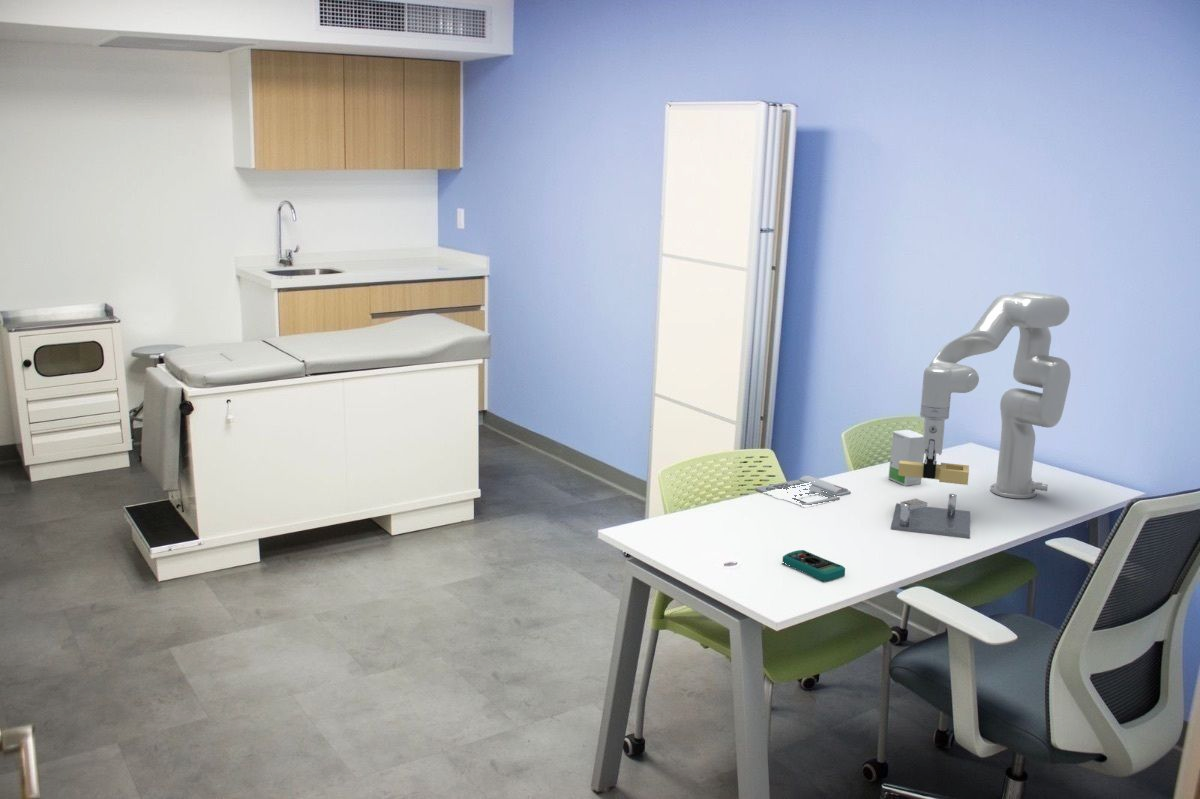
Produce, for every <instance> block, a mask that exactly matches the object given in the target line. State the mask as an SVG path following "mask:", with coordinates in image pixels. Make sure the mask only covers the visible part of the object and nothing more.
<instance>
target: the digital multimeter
mask: <svg viewBox="0 0 1200 799" xmlns="http://www.w3.org/2000/svg"><path fill="white" fill-rule="evenodd" d="M782 562H784V563H786V564H787V565H790V566H791V567H790V568H792V567H794V568H796V569H795V570H797V569H798V570H797V571H799V570H801V571H800V572H802V571H803V572H802V573H804V572H805V573H804V574H806V573H807V575H808V574H809V576H810V575H811V577H812V578H815V579H816V580H819V579H820V581H821V580H822V582H824V581H825V582H829V580H830V581H833V580H837V579H839V578H842V577H844V576H845V575H846V568H845V567H844V565H841V564H839V563H836V562H833V561H831V560H828V559H825V558H823V557H820V556H819V555H815V554H814V553H811V552H809V551H807V550H804V549H798V550H795V551H791V552H788V553H786V554H783V556H782ZM787 565H786V566H787ZM794 568H793V569H794ZM836 578H837V579H836Z"/></svg>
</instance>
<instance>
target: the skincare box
mask: <svg viewBox="0 0 1200 799" xmlns="http://www.w3.org/2000/svg"><path fill="white" fill-rule="evenodd" d="M891 439H892V440H891V449H890V461H889V467H888V468H889V469H888V475H887V476H888V480H891V481H893V482H895V483H898V484H899V485H902V486H904V487H909V486H915V485H920V484H921V483H922V478H918V477H909V476H900V475H898V471H899V462H900V461H909V462H919V463H924V460H925V453H924V452H923V434H921V433H919V432H917V431H913V430H911V429H901V430H894V431H892V438H891Z"/></svg>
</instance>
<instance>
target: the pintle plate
mask: <svg viewBox="0 0 1200 799" xmlns="http://www.w3.org/2000/svg"><path fill="white" fill-rule="evenodd" d="M947 503H948V504H947V508H942V507H933V506H928V502H927V501H925V500H921V499H918V498H913V499H909V500H904V501H900V503H896V504H895V508H894V512H893V517H892V521H891V525H890V530H894V531H895V530H897V531H905V532H910V533H911V532H912V533H921V534H930V535H936V536H937V535H938V536H947V537H956V538H963V539H970V537H971V510H962V509H961V510H960V509H956V504H957V494H955V493H949V494H948V502H947Z"/></svg>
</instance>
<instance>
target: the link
mask: <svg viewBox="0 0 1200 799" xmlns="http://www.w3.org/2000/svg"><path fill="white" fill-rule="evenodd" d="M923 470H924V462H923V463H919V462H909V461H900V462H899V471H898V475H900V476H909V477H918V478H921V479H925V478H924V477H923ZM969 473H970V465H966V464H958V463H949V462H940V464H937V463H936V472H935V478H934V479H932V478H927V479H930V480H938V481H939V483H945V484H946V483H947V484H955V485H962V486H963V485H964V486H965V485H966V486H968V485H969V475H970V474H969Z"/></svg>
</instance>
